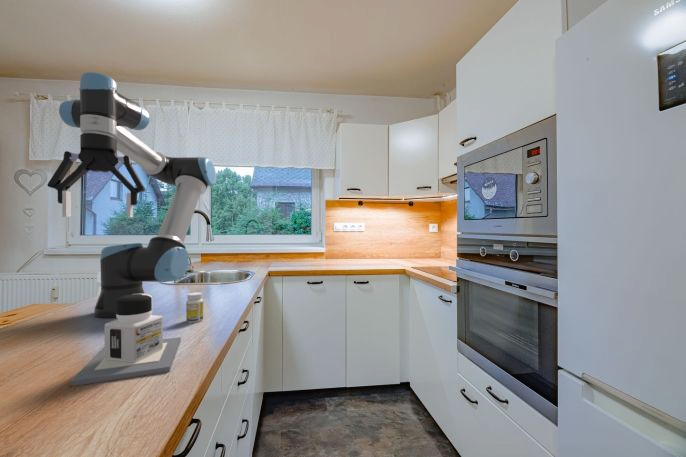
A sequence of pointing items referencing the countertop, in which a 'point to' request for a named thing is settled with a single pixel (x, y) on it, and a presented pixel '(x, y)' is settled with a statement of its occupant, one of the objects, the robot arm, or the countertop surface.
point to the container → (133, 330)
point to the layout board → (127, 365)
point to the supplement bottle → (194, 307)
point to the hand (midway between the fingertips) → (99, 217)
